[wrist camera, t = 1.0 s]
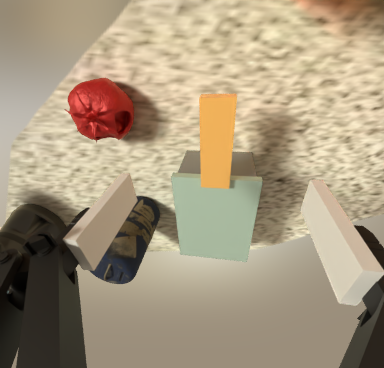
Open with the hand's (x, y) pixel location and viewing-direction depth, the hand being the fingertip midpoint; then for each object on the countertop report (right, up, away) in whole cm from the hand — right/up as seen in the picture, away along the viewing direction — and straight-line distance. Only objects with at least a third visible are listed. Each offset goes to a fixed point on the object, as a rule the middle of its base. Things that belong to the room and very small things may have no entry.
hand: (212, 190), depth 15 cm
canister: (-14, -5, +34) cm, 37 cm away
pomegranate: (-16, +14, +20) cm, 29 cm away
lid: (+2, -1, +16) cm, 16 cm away
